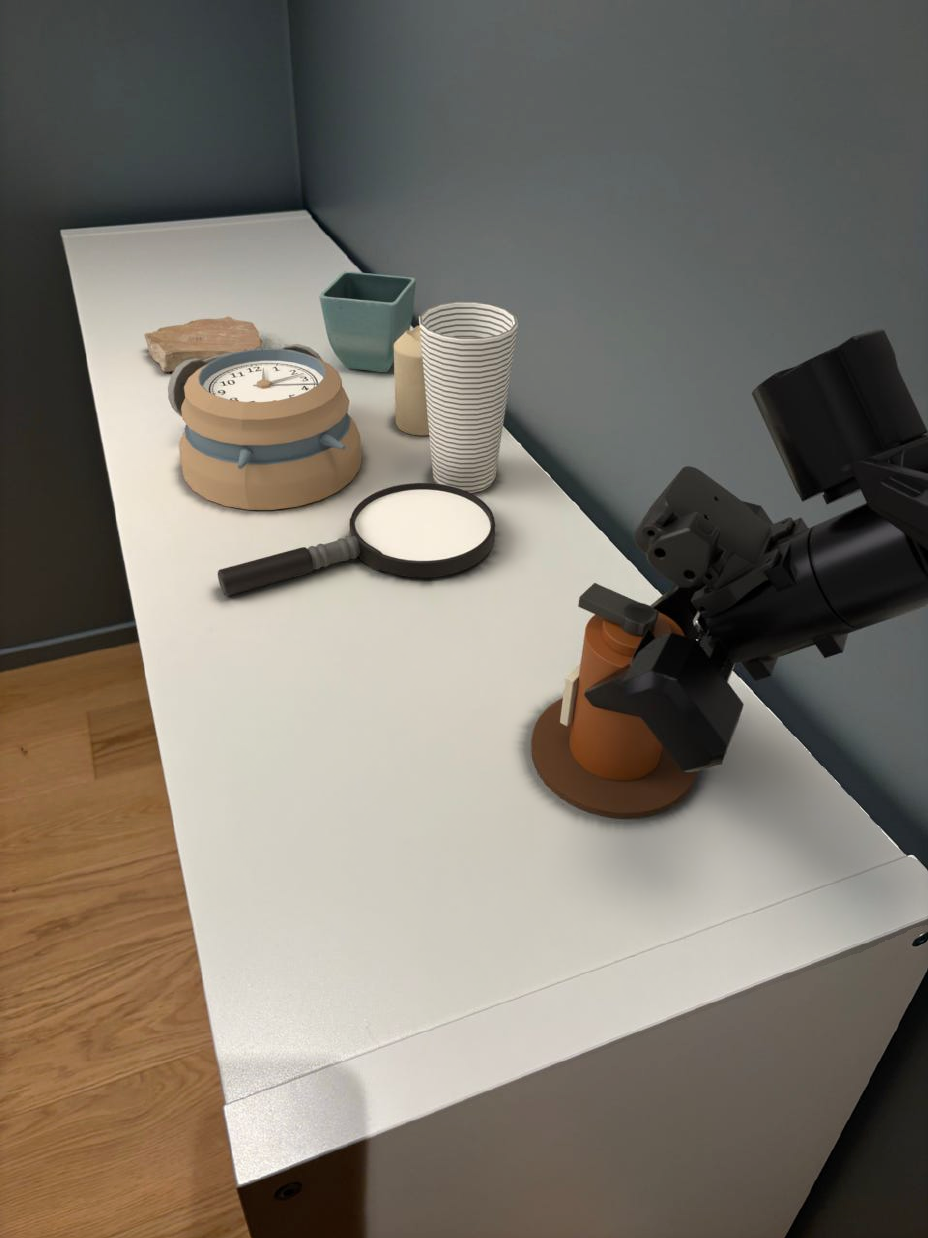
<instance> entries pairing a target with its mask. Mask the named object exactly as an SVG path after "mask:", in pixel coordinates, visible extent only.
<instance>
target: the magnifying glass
mask: <svg viewBox="0 0 928 1238" xmlns="http://www.w3.org/2000/svg"><path fill="white" fill-rule="evenodd" d="M495 520H496V519H495V516H494V513H493V511H492V509H491V508H490V507H489V505H487V503H486V502H484V500H483V499H481V498H480V497H478V496H476V495H475V494H474V493H469V492H467V491H464V490H462V489H459V488H455V487H452V486H447V485H442V484H437V483H435V482H434V483H432V482H414V483H413V482H411V483H410V482H409V483H402V484H397V485H392V486H389V487H386V488H383V489H380V490H378V491H376V492H374V493H372V494H369V495H368V496H367V497H365V498H364V499H362V500H361V501H360V502H359V503H358V504H357V505H356V507H355V508H354V509H353V511H352V513H351V516H350V517H349V523H348V524H349V535H347V536H345V538H344V537H340V538H337V540H334V541H331V542H328V543H318V544H317V545H316V546H315V545H311V546H309V547H308V548H307V547H306V546H302V547H298V548H293V549H291V550H287V551H283V552H280V553H276V554H272V555H269V556H264V557H261V558H258V559H257V558H256V559H254V560H250V561H247V562H243V563H239V564H236V565H232V566H228V567H224V568H221V569H219V570H218V571H217V579H218V584H219V586H220V589H221V591H222V593H223V595H224V596H226V597H228V596H232V595H237V594H239V593H244V592H246V591H251V590H253V589H257V588H260V587H264V586H268V585H271V584H275V583H278V582H282V581H285V580H289V579H292V578H296V577H299V576H303V575H307V574H310V573H312V572H313V571H314V570H319V569H321V567H322V568H326V567H329V565H332V564H336V563H339V562H347V561H349V560H350V559H351V560H356V559H357V558H359V559H360V561H362V562H363V563H365V564H366V565H367V566H369V567H370V568H371V569H374V570H376V571H378V572H381V571H382V572H385V573H388V574H392V575H396V576H401V577H406V578H421V579H422V578H425V579H426V578H428V579H429V578H438V577H445V576H450V575H453V574H457V573H461V572H463V571H466V570H468V569H470V568H472V567H473V566H475V565H478V563H480V562H481V561H482V560H483V559H485V558H486V556H488V554H489V553H490V552H491V550H492V548H493V546H494V543H495V536H496V521H495Z"/></svg>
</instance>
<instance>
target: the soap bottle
mask: <svg viewBox="0 0 928 1238" xmlns="http://www.w3.org/2000/svg"><path fill="white" fill-rule="evenodd" d="M578 598H579V599H578V605H577V607H578V608H580V609H582V610H585V611H587V612H589V613H591V614H593V615H592V616H591V618H590V619H589V620H588V622H587V623H586V625H585V628H584V636H583V643H582V649H581V656H580V658H581V659H580V663H579V664H578V665H577V666H576V667H575V668H574V669H573V670H572V671H571V672H570V673H569V674H568V675H566V677H565V679H564V687H563V688H564V689H563V697H562V698H563V702H562V710H561V718H560V723H562V724H563V725H565V726H568V725H569V724H570V723H571V722H572V727H571V734H570V749H571V752H572V754H573V756H574V758H575V759H576V761H577V762H578V763H579V764H580V765H581V766H582V767H583V768H584V769H586V770H587V771H589V772H590V773H592V774H594V775H596V776H599V777H601V778H605V779H608V780H614V781H628V780H634V779H638V778H641V777H643V776H645V775H647V774H648V773H650V772H651V771H652V770H653V769H654V768H655V767H656V765H657V764H658V762H659V759H660V755H661V751H662V747H663V746H662V745H661V743H660V742H659V741H658V739H657V738H656V737H655V735H654V734H653V733H652V732H651V730H650V729H649V728H648V726H647V725H646V724H645V723H644V721H643V720H642V719H641V717H637V716H632V715H628V714H623V713H619V712H614V711H610V710H605V709H601V708H596V707H593V706H592V705H591V704H590V703H589V701H588V700H587V699H586V697H585V696H584V693H585V691H586V690H587V689H588V688H590V687H591V686H593V685H594V684H596V683H597V682H599V681H600V680H602V679H604V678H605V677H607V676H609V675H611V674H612V673H614V672H616V671H618V670H619V669H621V668H623V667H625V666H626V665H628V664H630V663H631V658H632V656H633V654H634V652H635V650H636V648H637V647H638V645H639V643H640V641H641V639H642V638H643V636H644V634H645V632H646V631H647V629H649V630H650V631H651V633H652V634H653V635H654V637H655V638H658V637H660V636H663V635H665V634H668V633H670V632H673V633H676V634H680V635H683V636H684V633H683V631H682V630H681V628H680V627H679V626H678V625H677V624H676V623H675V622H674V621H673V620H672V619H670V618H669V617H667V616H666V615H664V614H662V613H660V612H659V611H658V610H655V609H653V608H652V607H651V606H650V605H649V604H647V603H643V602H639V601H637V600H635V599H633V598H630V597H628V596H626V595H624V594H621V593H619V592H617V591H615V590H613V589H610V588H608V587H605V586H603V585H601V584H598V583H596V582H594V583H593V584H592V585H591V586H589V587H588V588H587V589H585V591H584V592H583V593H582V594H581V595H580V596H579V597H578Z"/></svg>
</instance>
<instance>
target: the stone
mask: <svg viewBox="0 0 928 1238" xmlns="http://www.w3.org/2000/svg"><path fill="white" fill-rule="evenodd" d="M143 336H144V339H145V341H146V342H145V343H146V345H147V348H148V353H149V355H150V356H151V358H152V359H153V360H154V361H155V362H156V363H158V364H159V366H160V370H161V371H162V372H174V370H175V369H176V367H177V366H179V365H180V364H181V363H182V362H184V361H186V360H190V359H195V358H197V359H200V360H205V359H208V358H210V357H214V356H218V355H223V354H228V353H235V352H240V351H245V350H253V349H263V348H262V341H261V337H260V332H259V331H258V328H257V327H256V326H255V324H254V323H253V322H252V321H246V320H239V319H235V318H233V317H231V316H226V317H223V318H201V319H195V320H191V321H189V322H186V323H183V324H178V325H177V324H176V325H169V326H163V327H159V328H157V330H155V331H152V332H146V333H143ZM209 363H210V362H209Z"/></svg>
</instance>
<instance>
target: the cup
mask: <svg viewBox="0 0 928 1238" xmlns="http://www.w3.org/2000/svg"><path fill="white" fill-rule="evenodd" d="M418 323H419V326H420V335H421V346H422V357H423V368H424V380H425V391H426V402H427V413H428V425H429V435H428V436H429V446H430V458H431V469H432V478H433V481H434V483H435V484H442V485H447V486H452V487H455V488H459V489H462V490H464V491H467V492H469V493H471V494H474V493H478V492H482V491H484V490H487V489H488V488H489V487H491V486H492V484H493V483H494V481H495V479H496V477H497V471H498V470H497V469H498V462H499V455H500V448H501V441H502V435H503V429H504V422H505V416H506V408H507V401H508V396H509V395H508V394H509V390H510V389H509V388H510V381H511V374H512V368H513V360H514V353H515V348H516V341H517V333H518V328H519V322H518V320H517V315H515V314H513V313H512V312H510V311H509V310H508V309H507V308H504V307H501V306H498V305H495V304H492V303H485V302H479V301H452V302H445V303H440V304H439V303H438V304H437V305H434V306H432V307H431V306H430V307H429V308H426V309H425V310H424V311H423V312H422V313H421V314H420V315H419V316H418Z"/></svg>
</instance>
